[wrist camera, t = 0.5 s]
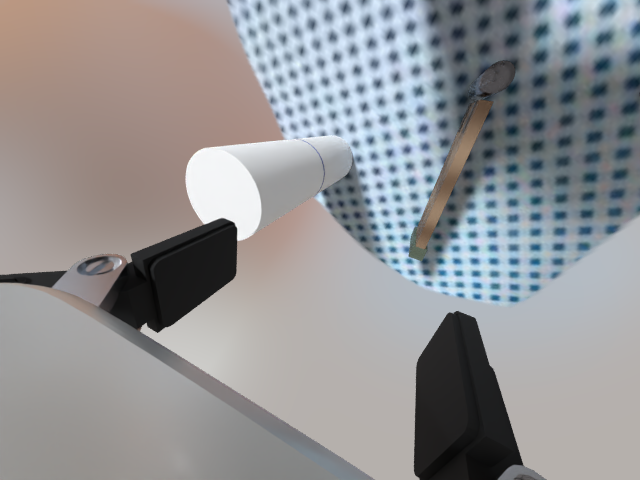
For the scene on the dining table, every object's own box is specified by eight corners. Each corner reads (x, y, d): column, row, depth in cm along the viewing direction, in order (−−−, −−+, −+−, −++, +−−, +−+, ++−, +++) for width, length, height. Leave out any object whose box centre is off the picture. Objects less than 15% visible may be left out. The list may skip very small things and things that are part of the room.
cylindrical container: (361, 153, 36) (276, 191, 15) (336, 189, 40) (242, 256, 19) (326, 125, 36) (196, 125, 16) (305, 163, 40) (178, 203, 20)
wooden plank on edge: (465, 104, 28) (476, 99, 22) (481, 107, 28) (497, 102, 22) (411, 236, 37) (408, 256, 32) (422, 239, 37) (422, 261, 31)
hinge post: (473, 76, 28) (490, 59, 20) (495, 79, 27) (521, 62, 20) (464, 99, 29) (477, 90, 22) (485, 102, 28) (505, 94, 21)
